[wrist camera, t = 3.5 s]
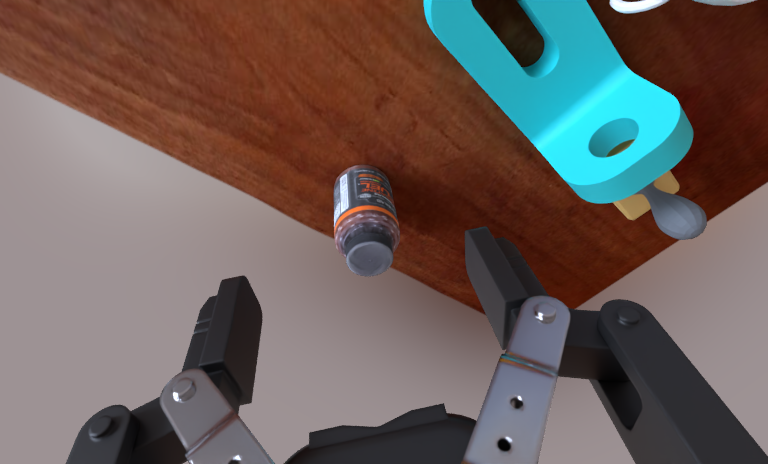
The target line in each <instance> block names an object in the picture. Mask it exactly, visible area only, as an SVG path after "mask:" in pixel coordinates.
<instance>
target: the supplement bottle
mask: <svg viewBox="0 0 768 464" xmlns="http://www.w3.org/2000/svg"><path fill="white" fill-rule="evenodd" d="M334 238H335V244H336V247H337V249H338V251H339V252H340V253H341V255H343V256H344V257H345V258H346V262H347V265H348V267H349V269H350V270H352V271H353V272H354V273H356V274H358V275H361V276H375V275H378V274H381V273H383V272H385V271H386V270H387V269H388V268H389V267H390V266H391V264H392V262H393V252H394V251H395V249H396V248H397V246H398V244H399V240H400V230H399V224H398V220H397V214H396V210H395V205H394V200H393V196H392V191H391V187H390V183H389V180H388V178H387V177H386V175H385V174H384V173H383V172H382V171H381V170H379V169H377V168H376V167H373V166H370V165H356V166H352V167H350V168H348V169H346V170H345V171H343V172H342V173H341V174H340V175H339V176H338V178H337V180H336V182H335V186H334Z"/></svg>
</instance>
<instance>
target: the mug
mask: <svg viewBox="0 0 768 464" xmlns="http://www.w3.org/2000/svg"><path fill="white" fill-rule="evenodd" d="M667 1H669V0H644V1H639V2H624V1H622V0H610V5H611V7H613V8H614V9H615V10H616V11H618V12H621V13H637V12H643V11H647V10H650V9H652V8H655V7H658V6H660V5H662V4H664V3H665V2H667ZM694 1H697V2H701V3H706V4H711V5H726V6H735V5H741V4H745V3H748V2H752V1H755V0H694Z"/></svg>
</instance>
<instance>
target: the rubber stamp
mask: <svg viewBox="0 0 768 464" xmlns="http://www.w3.org/2000/svg"><path fill="white" fill-rule="evenodd" d="M634 141H635V139H632V140H628V141H625V142H623V143H620V144H619V145H617V146H616V147H614V148H613V149H612V150H611V151H610V152H609V153H608V154H607V156H606V157H611V156H614V155H617V154H619V153H621V152H622V151H624V150H625V149H627V148H628V147H629V146H630V145H631V144H632V143H633V142H634ZM677 191H679V184H678V182H677V181H676V179H675V178H674V176H673V175H672V173H671V171H670V170H669V171H667V172H666V173H664V174H663V175H661V176H660V177H659V178H657V179H656V180H654V181H653V182H651V183H650V184H648V185H647V186H645V187H644V188H643V189H641V190H640V191H638V192H637V193H635V194H633V195H631V196H629V197H627V198H625V199H622V200H619V201H616V202H613V203H614V205H615V206H616V207H617V208H618V209H619V210H620V211H621V212H622V213H623V214H624V215H625V216H626V217H627V218H628V219H630V220H635V219H636V218H638V217H639V216H641V215H642V214H644V213H645V212H647V211H648V210H650V209H652V213H653V216H654V219H655V221H656V223H657V225H658V226H659V228H660V229H661V230H662V231H663V232H664V233H666V234H667V235H669V236H671V237H673V238H676V239H680V240H685V239H693V238H695V237H697V236H699V235H700V234H701V233H703V231H704V229H705V227H706V225H707V223H706V215H705V212H704V211H703V210H702V208H701V207H699V206H698V205H697V204H695V203H693V202H692V201H690V200H688V199H686V198H684V197H681V196H678V195H674V193H676V192H677Z"/></svg>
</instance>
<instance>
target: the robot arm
mask: <svg viewBox="0 0 768 464" xmlns="http://www.w3.org/2000/svg"><path fill="white" fill-rule="evenodd" d="M465 262H466V269H467V273H468V276H469V279H470V281H471V283H472V285H473V287H474V289H475V292H476V294H477V296H478V298H479V300H480V302H481V305H482V307H483V309H484V311H485V313H486V315H487V318H488V320H489V322H490V324H491V326H492V328H493V330H494V333H495V335H496V337H497V339H498V341H499V343H500V346H501V348H502V350H505V349H506V352H505V354H502V355H501V357H500V359H499V361H498V364H497V367H496V369H495V372H494V375H493V378H492V380H491V383H490V386H489V389H488V392H487V395H486V397H485V400H484V403H483V405H482V408H481V411H480V414H479V416H478V419H477V421H476V420H474V419H471V418H469V417H466V416H462V415H457V414H450V413H446V409H445V406H444V403H443V404H439V405H434V406H429V407H425V408H420V409H416V410H411V411H409V412H407V413H405V414H403V415H401V416H399V417H397V418H395V419H393V420H391V421H389V422H387V423H385V424H384V425H381V426H378V427H365V426H344V425H342V426H338V427H333V428H328V429H324V430H319V431H315V432H310V433H309V444H308V445H306V446H305V447H303V448H301V449H300V450H298V451H297V452H296V453H295V454H293V455H292V456H291V457H290V458H289V459H288V460H287V461H286V462H285V463H284V464H538V460H539V456H540V451H541V447H542V442H543V438H544V433H545V429H546V425H547V421H548V416H549V412H550V408H551V403H552V399H553V395H554V391H555V386H556V382H557V377H558V376H560V377H571V378H581V379H589V380H590V382H591V384H592V385H593V388H594V389H595V391H596V393H597V395H598V397H599V398H600V400H601V401H602V404H603V405H604V407H605V409H606V411H607V413H608V415H609V416H610V418H611V420H612V421H613V424H614V425H615V427H616V429H617V431H618V433H619V434H620V436H621V438H622V440H623V442H624V443H625V445H626V447H627V449H628V451H629V452H630V454H631V456H632V458H633V460H634V461H635V463H636V464H768V456H767V455H766V454H765V453H764V451H763V450H762V449H761V448H760V446H758V444H757V443H756V442H755V440H754V439H753V438H752V437H751V435H749V433H748V432H747V431H746V429H745V428H744V427H743V426H742V424H741V423H740V422H739V421H738V419H737V418H736V417H735V416H734V415H733V413H732V412H731V411H730V410H729V408H728V407H727V406H726V405H725V403H724V402H723V401H722V400H721V399H720V397H719V396H718V395H717V394H716V392H715V391H714V390H713V389H712V388H711V386H710V385H709V384H708V383H707V381H706V380H705V379H704V378H703V377H702V375H701V374H700V373H699V372H698V370H697V369H696V368H695V367H694V365H693V364H692V363H691V362H690V360H689V359H688V358H687V357H686V356H685V354H684V353H683V352H682V351H681V349H680V348H679V347H678V346H677V344H676V343H675V342H674V341H673V340H672V338H671V337H670V336H669V335H668V333H667V332H666V331H665V330H664V329H663V327H662V326H661V325H660V324H659V322H658V321H657V320H656V319H655V317H654V316H653V315H652V314H651V313H650V312H649V311H648V310H647V309H646V308H645V307H643V306H641V305H639V304H637V303H635V302H632V301H628V300H620V299H618V300H612V301H609V302H606V303H605V304H604V305H603V306H602V308H601V310H600V311H587V310H574V309H570V308H567V307H566V306H565V304H563V303H562V302H561V301H559V300H557V299H555V298H553V297H549V295H548V294H547V292H546V291H545V289H544V288H543V286H542V285H541V283H540V282H539V280H538V279H537V277H536V276H535V274H534V273H533V271H532V270H531V268H530V267H529V265H527V262H526V261H525V259H524V258H523V257H522V255H521V253H520V252H519V250H518V249H517V247H516V246H515V245H514V244H513V243H511V242H510V241H508V240H507V239H505V238H504V237H502V238H497V239H494V237H493V236H492V234H491V232H490V231H489V229H488V228H487V227H480V228H475V229H471V230H466V231H465ZM261 326H262V310H261V307H260V304H259V302H258V300H257V298H256V296H255V294H254V292H253V290H252V288H251V286H250V284H249V281H248V279H247V278H246V277H245V276H238V277H234V278H229V279H224V280H222V281H221V284H220V287H219V291H218V294H217V296H212V297H210V298H209V299H208V300H207V302H206V303H205V304H204V305H203V307H202V308H201V310H200V313H199V316H198V320H197V324H196V326H195V330H194V334H193V336H192V339H191V343H190V347H189V349H188V353H187V356H186V359H185V362H184V366H183V369H182V372H181V373H179V374H178V375H176V376H175V377H173V378H172V379H171V380H170V381H169V382H168V383H167V384H166V386H165V387H164V389H163V390H162V393H161V395H160V397H158V398H156V399H155V400H153V401H151V402H149V403H146V404H145V405H143V406H140V407H138V408H136V409H134V410H132V411H130V410H129V409H128V408H126V407H125V406H123V405H113V406H109V407H107V408H104V409H102V410H101V411H99V412H98V413H96V414H95V415H93V416H92V417H91V418H90V419H89V420H88V421H87V422H86V423H85V425H84V426H83V427H82V428H81V430H80V432H79V434H78V436H77V438H76V440H75V443H74V445H73V448H72V450H71V452H70V455H69V457H68V460H67V462H66V464H183V463H184V462H186V461H188V462H189V464H275V463H274V462H273V460H272V459H271V458H270V457H269V455H268V454H267V453H266V451H265V450H264V449H263V447H262V446H261V445H260V443H259V442H258V441H257V439H256V438H255V437H254V435H253V434H252V433H251V431H250V430H249V429H248V427H247V426H246V425H245V424H244V422H243V421H242V420H241V419H240V417H239V416H238V411H239V406H240V405H244V404H249V403H251V402H252V394H253V387H254V380H255V372H256V365H257V357H258V349H259V341H260V334H261Z"/></svg>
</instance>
